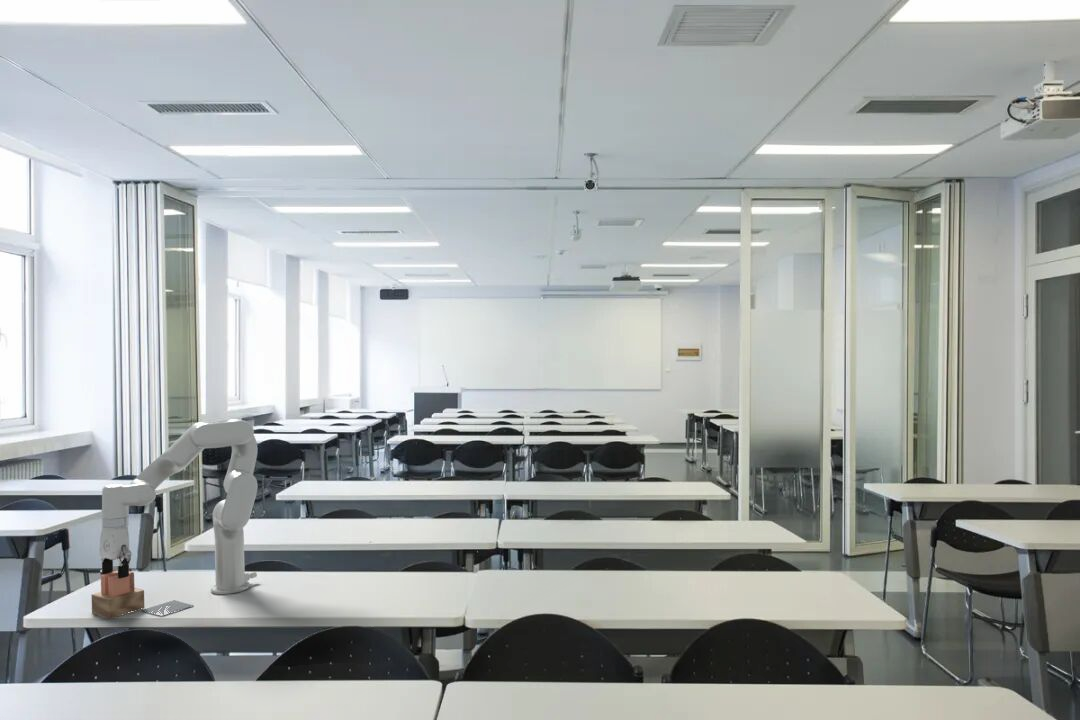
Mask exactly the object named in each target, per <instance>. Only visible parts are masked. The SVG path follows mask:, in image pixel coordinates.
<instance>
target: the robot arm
mask: <svg viewBox="0 0 1080 720" xmlns="http://www.w3.org/2000/svg"><path fill="white" fill-rule="evenodd" d="M254 430H255V429H254V427H253V425H252V424H251V423H250V422H249V421H247V420H244V419H240V418H230V419H228V420H227V421H225V422H224V421H223V422H209V423H208V422H205V421H199V422H195V423H194V424H192V425H191V426H190V427H189V428H187V430H186V431H185V432H184V433H183V434H181V435H180V437H178V438H177V440H176V441H174V443H172V445H170V446H169V447H168V448H167V449H166V450H165V451H164V452H163V453H162V454H160V455H159V456H158V457H157V458H156V459H155V460H153V461H152V462H151V463H150V464H149V465H148V466H147V467H145V468H144V469H143V470H142V471H141V472H140V473H139V474H138V475H137V476H136V477H135V478H134V479H133V480H132V481H131V482H130V483H129V485H127V484H125V483H112V484H107V485H104V486H103V488H102V491H101V504H102V505H101V530H100V536H99V537H100V538H99V556H100V557H101V559H100V560H101V570H102V574H106V573H111V572H113V566H114V561H115V560H117V562H118V565H117V566H118V578H119V579H120V578H124V577H128V576H129V571H130V564H131V559H132V558H131V557H132V555H133V554H132V551H131V549H130V535H129V525H130V523H129V520H130V517H129V515H130V514H129V513H130V512H129V509H130V506H132V507H133V506H135V507H136V506H137V507H142V506H147V505H149V504H151V503H153V502H154V501H155V499H156V497H157V488H158V487H159V486H160V485H162V483H164V481H167V479H168V478H170V477H171V476H173V475H175V474H177V473H180V472H181V471H183V470H185V468H187V467H188V466H189V465H190V464H191V463H192V462H193V461H194V460H195V459H196V458H197V457H198V456H199V455H200V454H201V452H203V451H204V450H205V449H217V448H226V447H231V457H230V461H229V464H228V468H227V471H226V474H225V476H224V480H223V489H224V491H225V493H226V497H225V499H223V500H220V501H219V502H218V503H216V505H215V507H214V508H213V511H212V524H213V532H214V533H213V535H214V536H213V537H214V564H215V565H214V566H215V567H214V569H215V574H214V575H215V585H212V586H211V588H210V592H211V593H212V594H215V595H231V594H236V593H241V592H244V591H246V590H248V589H249V588H250V586H251V584H250V582H249V580H250V579H254V578H257V575H258V574H257V572H256V571H252V572H251V573H249V572H246V571H245V570H246V569H245V534H244V532H245V531H244V527H246V525H247V524H248V522H249V520H250V519H251V518H250V517H251V515H252V511H253V509H254V508H253V507H254V504H255V500H256V497H257V493H258V489H259V488H258V480H257V478H256V477H255V475H254V471H255V466H256V461H257V458H258V443H257V440H256V436H255V431H254ZM119 565H120V566H119Z"/></svg>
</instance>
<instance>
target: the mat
mask: <svg viewBox="0 0 1080 720" xmlns="http://www.w3.org/2000/svg"><path fill="white" fill-rule="evenodd" d="M166 606H168V607H169V606H170V607H169V608H168V607H167V608H168V609H167V608H166ZM191 606H193V607H194V604H190V603H186V602H182V601H179V600H174V599H173V600H170V601H167V602H163V603H159V604H158V605H154V606H150V607H148V608H144V609H141V612H143V611H146V612H150V613H151V612H152V611H153V612H152V613H153V614H154V613H155V614H156V613H157V612H159V611H160V612H161V613H162V614H163V615H164V610H165V608H166V609H167V610H168V611H169V612H170V613H171V612H174V611H178V610H181V609H184V610H186V609H185V608H187V609H189V608H188V607H191ZM161 607H162V608H161ZM160 608H161V609H160ZM191 608H192V607H191ZM159 609H160V610H159ZM158 610H159V611H158ZM167 610H166V611H167ZM168 611H167V612H168ZM181 611H182V610H181ZM146 612H145V613H146ZM160 612H159V613H160ZM169 612H168V613H169ZM178 612H179V611H178ZM161 613H160V614H161ZM153 614H152V615H153Z"/></svg>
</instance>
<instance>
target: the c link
mask: <svg viewBox="0 0 1080 720" xmlns="http://www.w3.org/2000/svg"><path fill="white" fill-rule="evenodd" d="M135 588H136V587H135V572H133V571H130V570H129V576H128V577H124V578H120V579H119V578H118V571H116V572H112V573H108V574H104V575H101V574H100V592H101V594H104V595H106V594H109V596H111V597H115V596H118V595H122V594H125V593H129V592H132V591H135Z"/></svg>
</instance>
